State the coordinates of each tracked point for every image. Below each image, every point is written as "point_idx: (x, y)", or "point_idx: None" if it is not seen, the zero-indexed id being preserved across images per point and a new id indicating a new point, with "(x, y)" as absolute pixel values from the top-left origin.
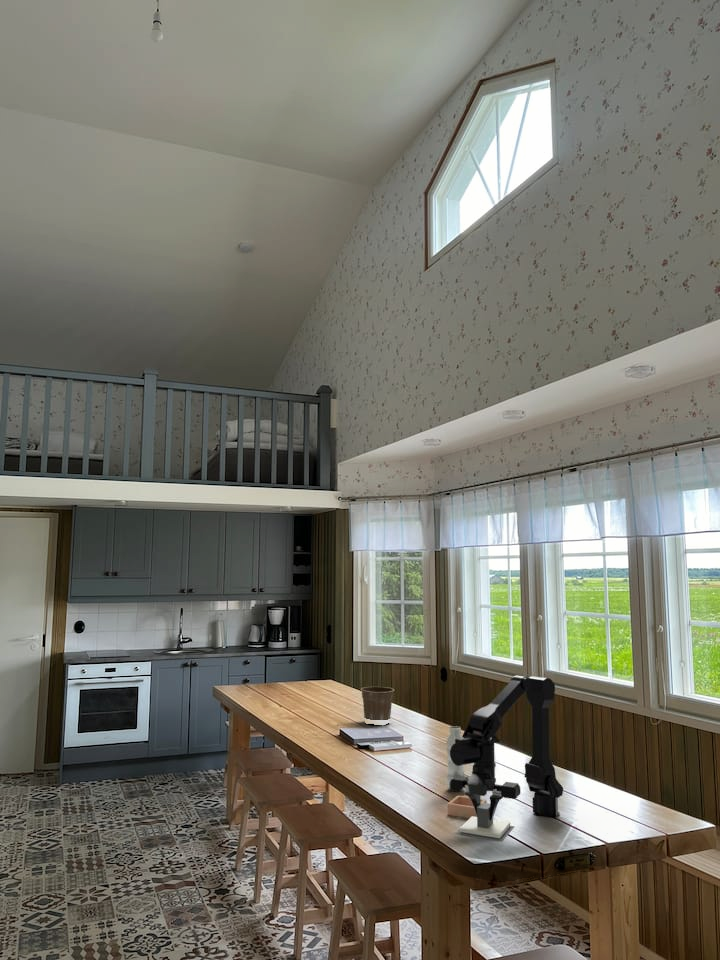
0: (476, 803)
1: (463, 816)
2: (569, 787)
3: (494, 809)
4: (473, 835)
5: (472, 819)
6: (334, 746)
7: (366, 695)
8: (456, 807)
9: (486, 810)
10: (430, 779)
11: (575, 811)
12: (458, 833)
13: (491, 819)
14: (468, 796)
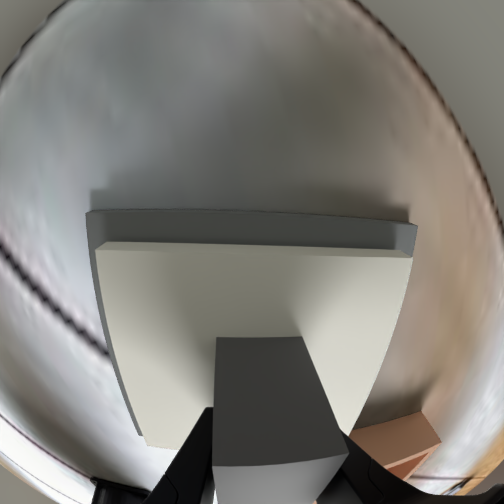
0: (360, 489)
1: (374, 434)
2: None
3: (171, 479)
4: (306, 237)
5: (343, 416)
6: (483, 465)
7: None
8: (410, 448)
9: (228, 453)
10: None
11: None
12: (401, 234)
13: (203, 413)
14: (464, 495)
